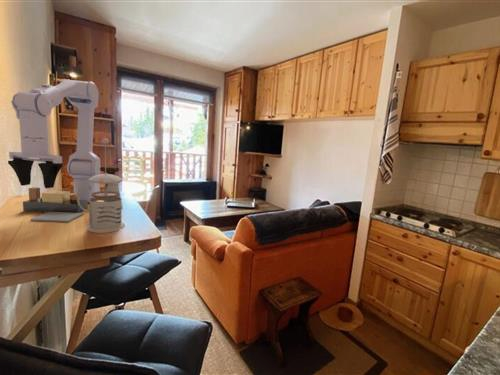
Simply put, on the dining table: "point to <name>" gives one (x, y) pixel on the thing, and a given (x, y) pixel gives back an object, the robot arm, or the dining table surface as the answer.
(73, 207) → the plane body
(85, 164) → the robot arm
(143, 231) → the dining table surface
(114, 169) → the bolt
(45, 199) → the beige block
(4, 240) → the dining table surface
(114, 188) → the salt shaker
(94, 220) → the french press
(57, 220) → the mat
